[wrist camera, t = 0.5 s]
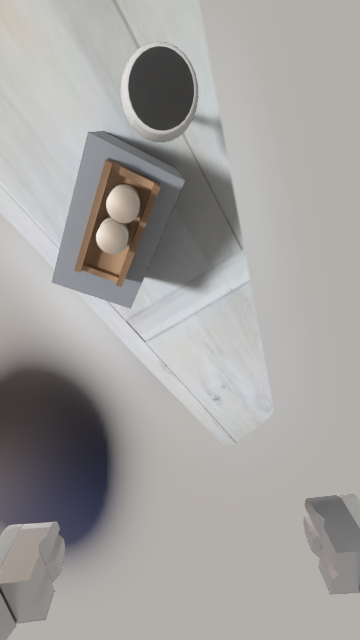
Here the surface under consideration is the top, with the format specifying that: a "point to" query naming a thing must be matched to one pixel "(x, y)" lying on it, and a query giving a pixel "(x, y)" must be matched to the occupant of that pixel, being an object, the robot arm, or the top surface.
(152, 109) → the wineglass
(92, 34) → the top surface
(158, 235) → the grey cover
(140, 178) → the tray
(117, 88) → the top surface
